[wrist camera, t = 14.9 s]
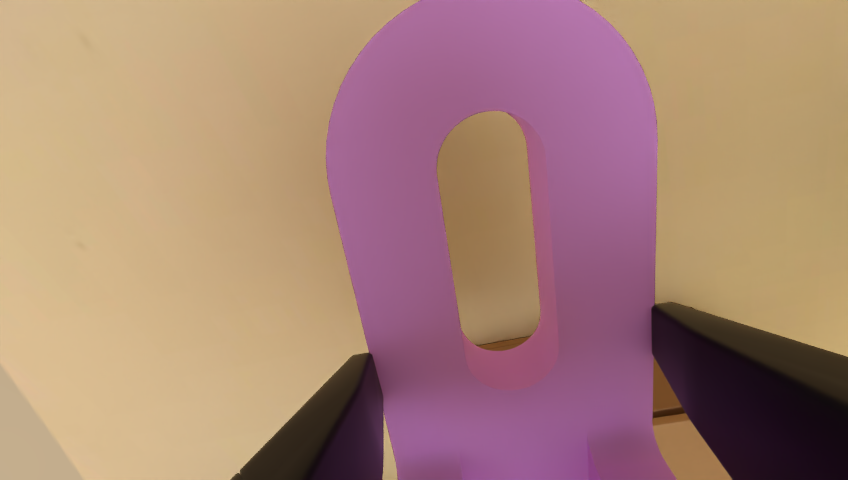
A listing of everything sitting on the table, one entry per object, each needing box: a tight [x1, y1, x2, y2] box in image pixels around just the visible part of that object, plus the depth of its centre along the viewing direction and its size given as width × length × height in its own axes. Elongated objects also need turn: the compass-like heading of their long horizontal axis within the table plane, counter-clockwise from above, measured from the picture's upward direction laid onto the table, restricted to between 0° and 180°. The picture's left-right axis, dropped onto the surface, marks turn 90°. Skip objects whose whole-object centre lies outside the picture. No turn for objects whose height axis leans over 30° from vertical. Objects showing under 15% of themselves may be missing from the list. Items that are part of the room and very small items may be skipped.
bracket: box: [326, 0, 677, 480], centre depth 7 cm, size 13×6×7 cm, turn 9°
